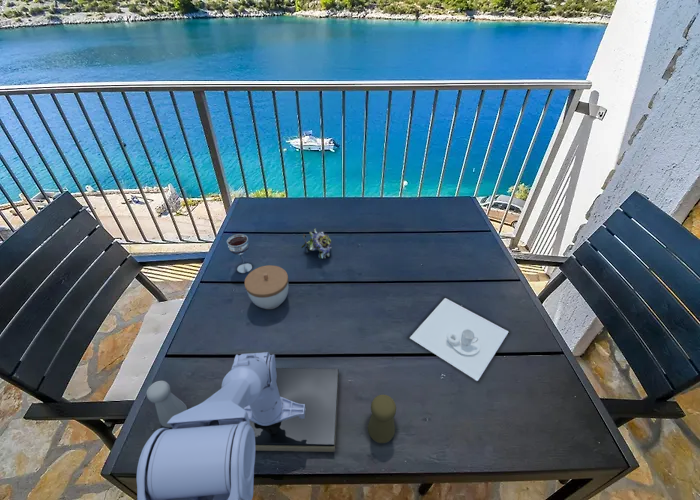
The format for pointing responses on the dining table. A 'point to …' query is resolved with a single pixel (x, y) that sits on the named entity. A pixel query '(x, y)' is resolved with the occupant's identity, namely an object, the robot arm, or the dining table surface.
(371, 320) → the dining table surface
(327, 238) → the passion flower
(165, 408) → the salt shaker
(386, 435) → the olive peanut shape
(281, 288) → the lidded bowl
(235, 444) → the robot arm
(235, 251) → the wineglass
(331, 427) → the panel
